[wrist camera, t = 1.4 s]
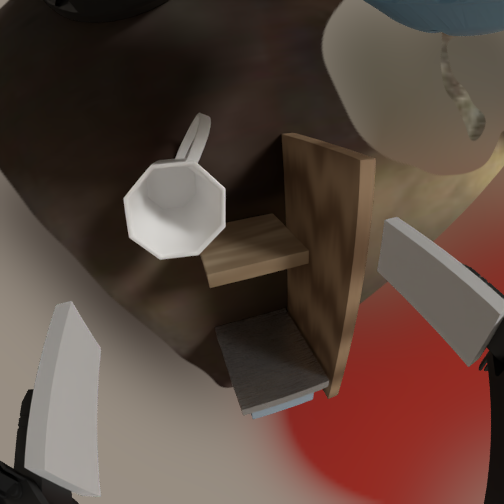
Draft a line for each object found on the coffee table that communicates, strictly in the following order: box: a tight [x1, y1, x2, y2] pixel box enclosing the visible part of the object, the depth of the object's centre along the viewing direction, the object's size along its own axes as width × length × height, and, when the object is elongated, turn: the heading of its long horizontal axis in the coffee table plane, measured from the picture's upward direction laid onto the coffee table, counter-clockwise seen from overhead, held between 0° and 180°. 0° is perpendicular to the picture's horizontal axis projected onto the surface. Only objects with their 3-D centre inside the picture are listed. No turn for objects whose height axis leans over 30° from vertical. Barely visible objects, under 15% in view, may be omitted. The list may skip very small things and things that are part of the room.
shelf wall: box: [282, 133, 376, 399], centre depth 27 cm, size 25×1×12 cm, turn 6°
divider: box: [200, 213, 309, 288], centre depth 25 cm, size 1×8×8 cm, turn 95°
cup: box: [123, 113, 226, 260], centre depth 21 cm, size 7×10×8 cm
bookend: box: [215, 308, 329, 415], centre depth 31 cm, size 2×9×12 cm, turn 96°
